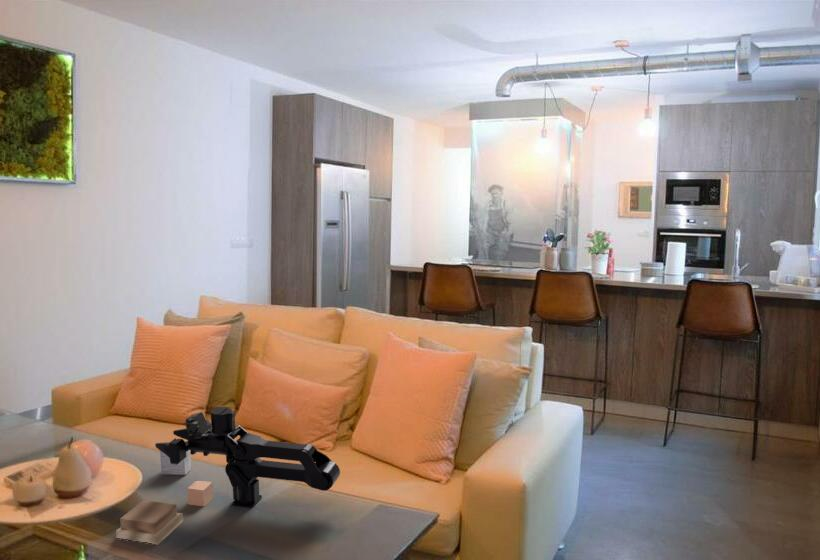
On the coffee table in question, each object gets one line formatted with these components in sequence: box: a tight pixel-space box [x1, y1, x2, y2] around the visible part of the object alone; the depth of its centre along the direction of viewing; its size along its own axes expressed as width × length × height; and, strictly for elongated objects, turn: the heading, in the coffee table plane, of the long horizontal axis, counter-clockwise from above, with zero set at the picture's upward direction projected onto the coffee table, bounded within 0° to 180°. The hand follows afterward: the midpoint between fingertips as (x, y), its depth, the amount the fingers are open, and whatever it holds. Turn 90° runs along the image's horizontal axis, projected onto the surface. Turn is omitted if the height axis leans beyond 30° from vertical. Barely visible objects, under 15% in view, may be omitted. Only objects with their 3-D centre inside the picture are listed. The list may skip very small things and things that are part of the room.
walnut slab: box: [119, 499, 178, 534], centre depth 182 cm, size 10×10×3 cm
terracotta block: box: [187, 480, 214, 507], centre depth 198 cm, size 5×5×5 cm
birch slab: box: [115, 512, 184, 546], centre depth 183 cm, size 12×12×3 cm
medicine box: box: [159, 450, 192, 476], centre depth 216 cm, size 8×4×9 cm, turn 84°
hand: (164, 438), depth 201 cm, fingers open, 9 cm apart
